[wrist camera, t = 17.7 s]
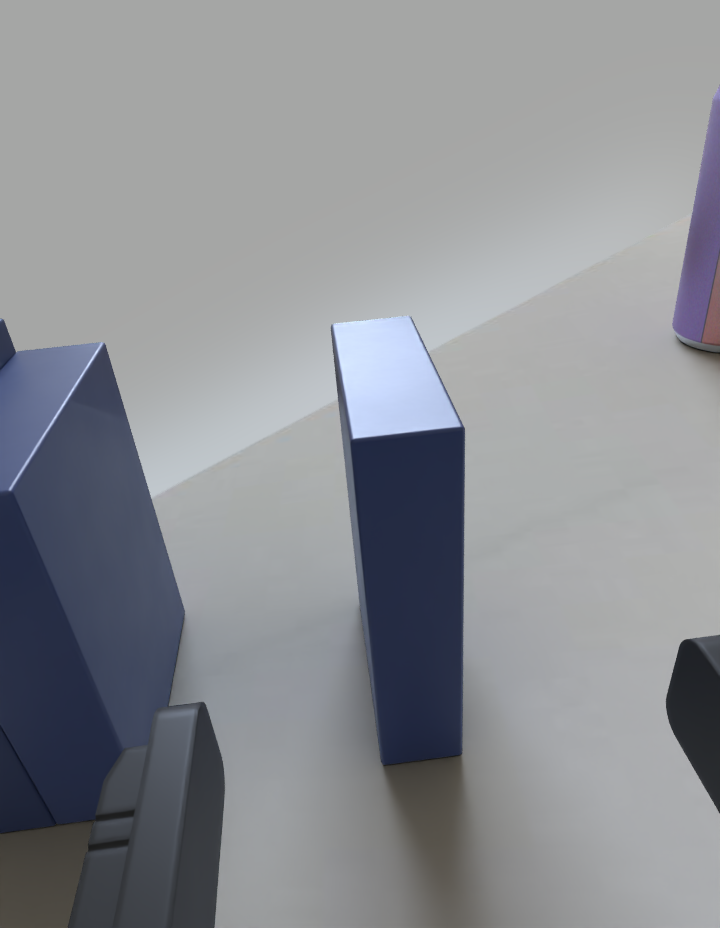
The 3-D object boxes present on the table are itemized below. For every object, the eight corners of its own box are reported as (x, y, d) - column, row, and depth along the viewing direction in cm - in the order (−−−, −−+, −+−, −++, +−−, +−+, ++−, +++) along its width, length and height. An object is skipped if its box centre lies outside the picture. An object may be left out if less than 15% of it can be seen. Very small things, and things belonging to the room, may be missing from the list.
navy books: (149, 813, 19) (-9, 447, 12) (-39, 839, 18) (-299, 479, 12) (185, 611, 25) (95, 308, 19) (48, 628, 25) (-90, 327, 19)
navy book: (462, 755, 19) (465, 427, 14) (381, 766, 19) (349, 440, 13) (421, 592, 25) (411, 314, 20) (359, 599, 25) (330, 322, 19)
